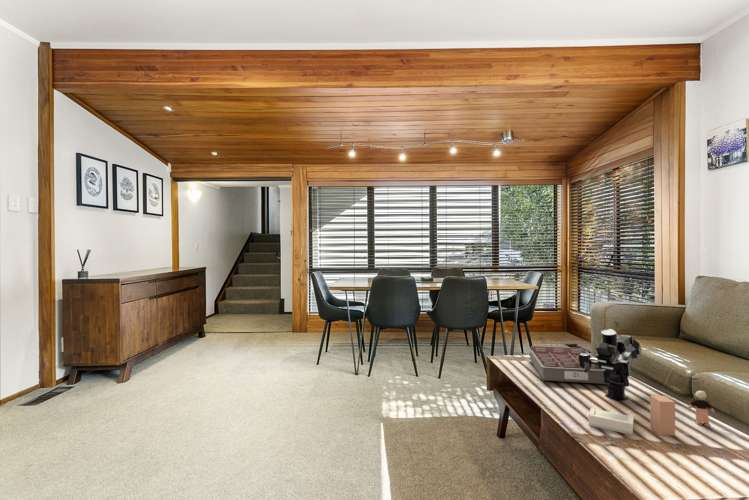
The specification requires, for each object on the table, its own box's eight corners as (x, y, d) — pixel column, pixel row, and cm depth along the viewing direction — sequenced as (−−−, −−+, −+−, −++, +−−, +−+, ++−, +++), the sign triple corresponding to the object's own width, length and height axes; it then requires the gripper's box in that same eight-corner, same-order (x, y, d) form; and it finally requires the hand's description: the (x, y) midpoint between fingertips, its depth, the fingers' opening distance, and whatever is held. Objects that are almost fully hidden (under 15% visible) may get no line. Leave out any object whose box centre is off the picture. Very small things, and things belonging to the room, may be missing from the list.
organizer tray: (542, 383, 198) (541, 363, 198) (528, 361, 237) (528, 345, 237) (612, 387, 191) (612, 367, 191) (586, 364, 230) (586, 347, 230)
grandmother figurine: (710, 423, 151) (710, 390, 151) (715, 427, 147) (715, 393, 147) (686, 420, 153) (686, 388, 153) (691, 424, 150) (690, 391, 150)
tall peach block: (650, 427, 148) (650, 395, 148) (664, 428, 147) (664, 395, 147) (660, 434, 142) (659, 401, 142) (675, 435, 141) (674, 402, 141)
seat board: (593, 411, 163) (593, 401, 163) (633, 419, 155) (633, 409, 155) (588, 425, 149) (588, 414, 149) (632, 435, 141) (632, 424, 141)
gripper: (583, 336, 176) (570, 351, 166) (632, 343, 162) (621, 360, 152) (586, 358, 178) (573, 375, 168) (634, 367, 164) (624, 386, 154)
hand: (597, 374), depth 160 cm, fingers open, 9 cm apart
